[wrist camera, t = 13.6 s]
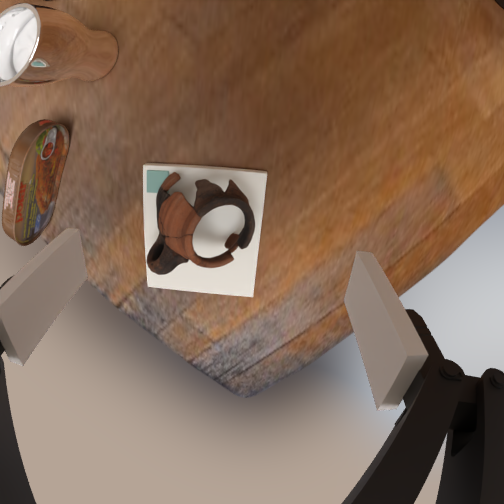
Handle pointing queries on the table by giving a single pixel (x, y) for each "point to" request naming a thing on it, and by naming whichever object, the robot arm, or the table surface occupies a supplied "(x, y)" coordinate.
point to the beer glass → (51, 47)
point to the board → (207, 228)
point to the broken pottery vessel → (194, 225)
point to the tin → (34, 180)
